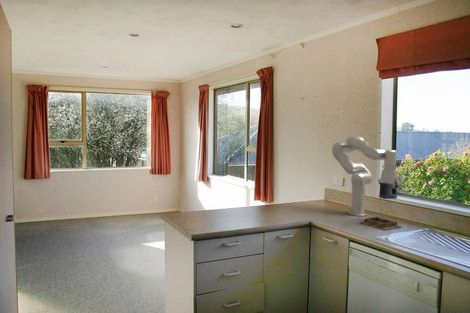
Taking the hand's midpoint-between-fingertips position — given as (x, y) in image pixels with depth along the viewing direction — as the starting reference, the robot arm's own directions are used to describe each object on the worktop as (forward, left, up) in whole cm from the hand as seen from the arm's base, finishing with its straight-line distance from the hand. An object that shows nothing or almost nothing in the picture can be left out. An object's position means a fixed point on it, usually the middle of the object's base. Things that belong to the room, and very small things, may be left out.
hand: (388, 193), depth 264 cm
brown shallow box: (+6, -15, -20) cm, 26 cm away
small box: (0, 0, -4) cm, 4 cm away
